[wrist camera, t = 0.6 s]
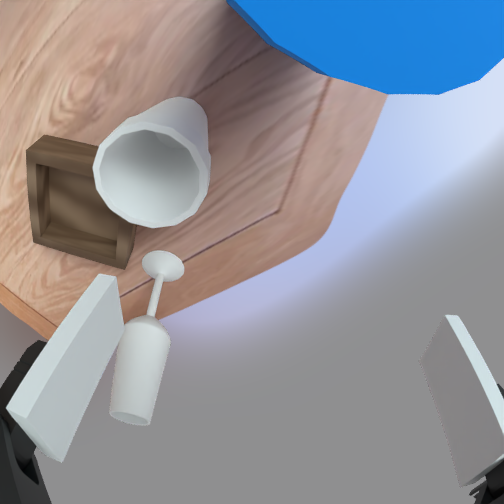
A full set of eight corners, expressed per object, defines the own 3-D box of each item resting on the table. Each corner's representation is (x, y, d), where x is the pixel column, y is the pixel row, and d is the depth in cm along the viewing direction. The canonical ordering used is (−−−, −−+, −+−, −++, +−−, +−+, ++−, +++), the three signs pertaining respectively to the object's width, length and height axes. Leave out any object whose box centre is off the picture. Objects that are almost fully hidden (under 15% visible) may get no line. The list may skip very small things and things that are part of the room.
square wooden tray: (44, 134, 32) (26, 150, 29) (148, 159, 36) (138, 177, 32) (46, 223, 42) (33, 242, 38) (133, 248, 45) (124, 269, 42)
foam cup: (124, 128, 33) (75, 185, 23) (173, 66, 28) (131, 97, 19) (186, 174, 37) (163, 245, 28) (239, 120, 33) (234, 176, 23)
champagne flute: (148, 244, 45) (102, 401, 27) (190, 260, 47) (165, 419, 29) (137, 272, 49) (98, 416, 31) (176, 286, 51) (152, 431, 33)
